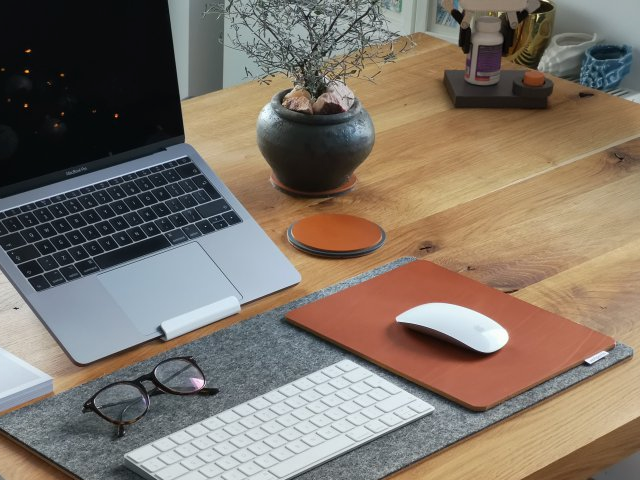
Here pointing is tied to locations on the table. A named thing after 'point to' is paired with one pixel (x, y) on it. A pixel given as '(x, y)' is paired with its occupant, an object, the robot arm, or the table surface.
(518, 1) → the robot arm
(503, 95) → the scale
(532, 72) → the button
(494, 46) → the pill bottle
